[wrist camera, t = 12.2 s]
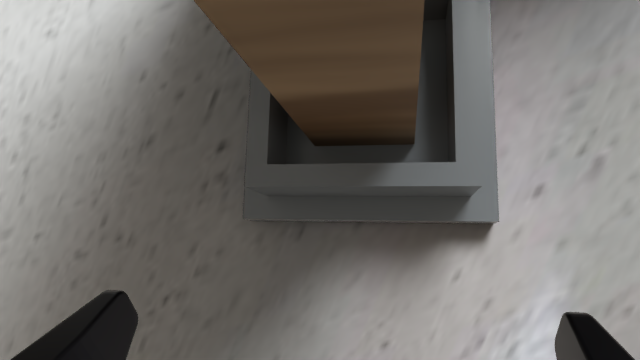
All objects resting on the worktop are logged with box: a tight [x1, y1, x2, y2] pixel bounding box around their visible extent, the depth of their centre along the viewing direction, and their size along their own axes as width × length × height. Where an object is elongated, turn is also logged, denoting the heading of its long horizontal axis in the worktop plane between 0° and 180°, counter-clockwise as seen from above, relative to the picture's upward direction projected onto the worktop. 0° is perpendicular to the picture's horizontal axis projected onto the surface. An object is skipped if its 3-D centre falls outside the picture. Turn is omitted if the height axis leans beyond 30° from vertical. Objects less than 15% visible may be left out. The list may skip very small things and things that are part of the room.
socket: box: [243, 0, 499, 224], centre depth 17 cm, size 10×10×4 cm
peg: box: [194, 0, 425, 146], centre depth 12 cm, size 4×4×12 cm
